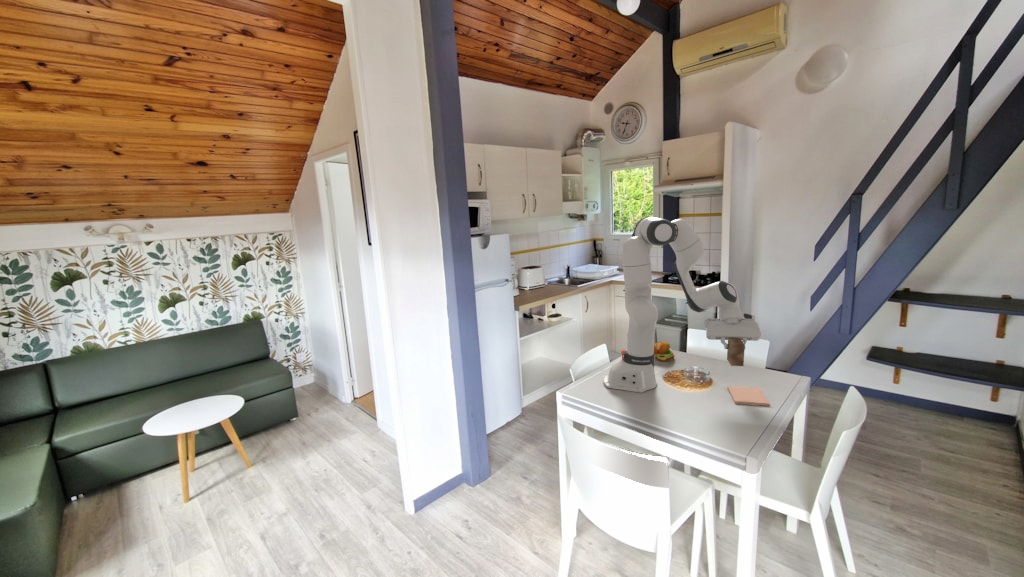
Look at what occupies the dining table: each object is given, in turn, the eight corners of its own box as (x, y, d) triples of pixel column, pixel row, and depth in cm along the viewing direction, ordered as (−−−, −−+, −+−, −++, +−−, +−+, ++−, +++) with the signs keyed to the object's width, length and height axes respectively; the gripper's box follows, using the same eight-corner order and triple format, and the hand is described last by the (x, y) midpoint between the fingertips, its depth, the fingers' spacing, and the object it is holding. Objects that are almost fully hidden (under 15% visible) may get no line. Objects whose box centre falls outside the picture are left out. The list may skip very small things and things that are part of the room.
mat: (734, 403, 167) (735, 401, 167) (727, 388, 180) (727, 385, 180) (769, 406, 164) (769, 403, 164) (759, 390, 177) (759, 387, 177)
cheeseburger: (679, 361, 210) (675, 343, 208) (658, 367, 210) (653, 349, 208) (670, 354, 220) (666, 336, 218) (650, 360, 220) (646, 342, 218)
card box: (731, 365, 172) (732, 344, 170) (727, 359, 179) (728, 338, 177) (743, 366, 171) (744, 344, 169) (738, 359, 178) (740, 338, 176)
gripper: (705, 314, 182) (708, 344, 175) (758, 315, 177) (764, 346, 170) (702, 322, 188) (706, 351, 180) (755, 322, 182) (760, 353, 175)
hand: (735, 348), depth 175 cm, fingers closed on card box, 4 cm apart
